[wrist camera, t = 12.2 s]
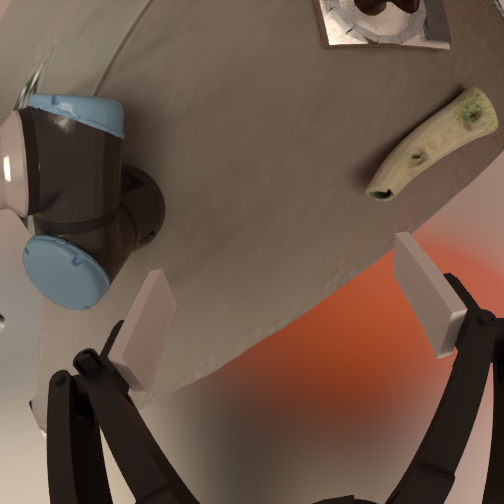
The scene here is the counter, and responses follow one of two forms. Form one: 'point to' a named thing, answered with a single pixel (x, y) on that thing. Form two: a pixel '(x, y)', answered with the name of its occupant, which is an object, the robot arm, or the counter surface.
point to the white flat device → (383, 26)
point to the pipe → (434, 142)
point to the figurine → (374, 3)
